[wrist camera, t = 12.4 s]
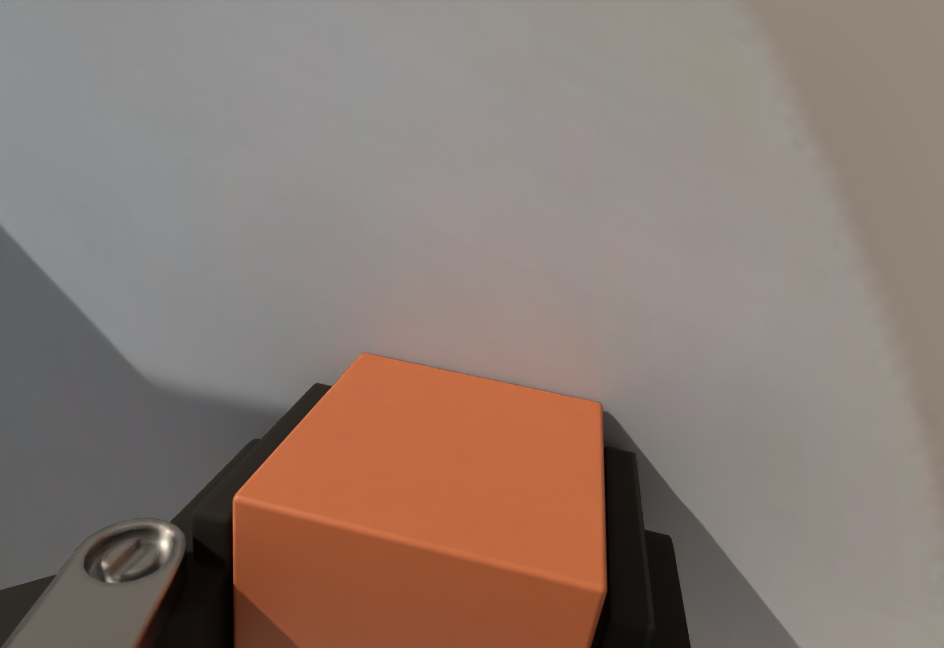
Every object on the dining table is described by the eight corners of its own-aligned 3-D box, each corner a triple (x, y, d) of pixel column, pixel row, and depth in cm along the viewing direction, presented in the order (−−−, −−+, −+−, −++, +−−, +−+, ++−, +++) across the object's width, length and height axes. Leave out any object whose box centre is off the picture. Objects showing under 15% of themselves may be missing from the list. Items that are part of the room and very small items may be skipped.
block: (361, 350, 11) (229, 496, 7) (603, 401, 11) (609, 590, 7) (346, 540, 13) (232, 747, 9) (555, 593, 12) (536, 839, 8)
